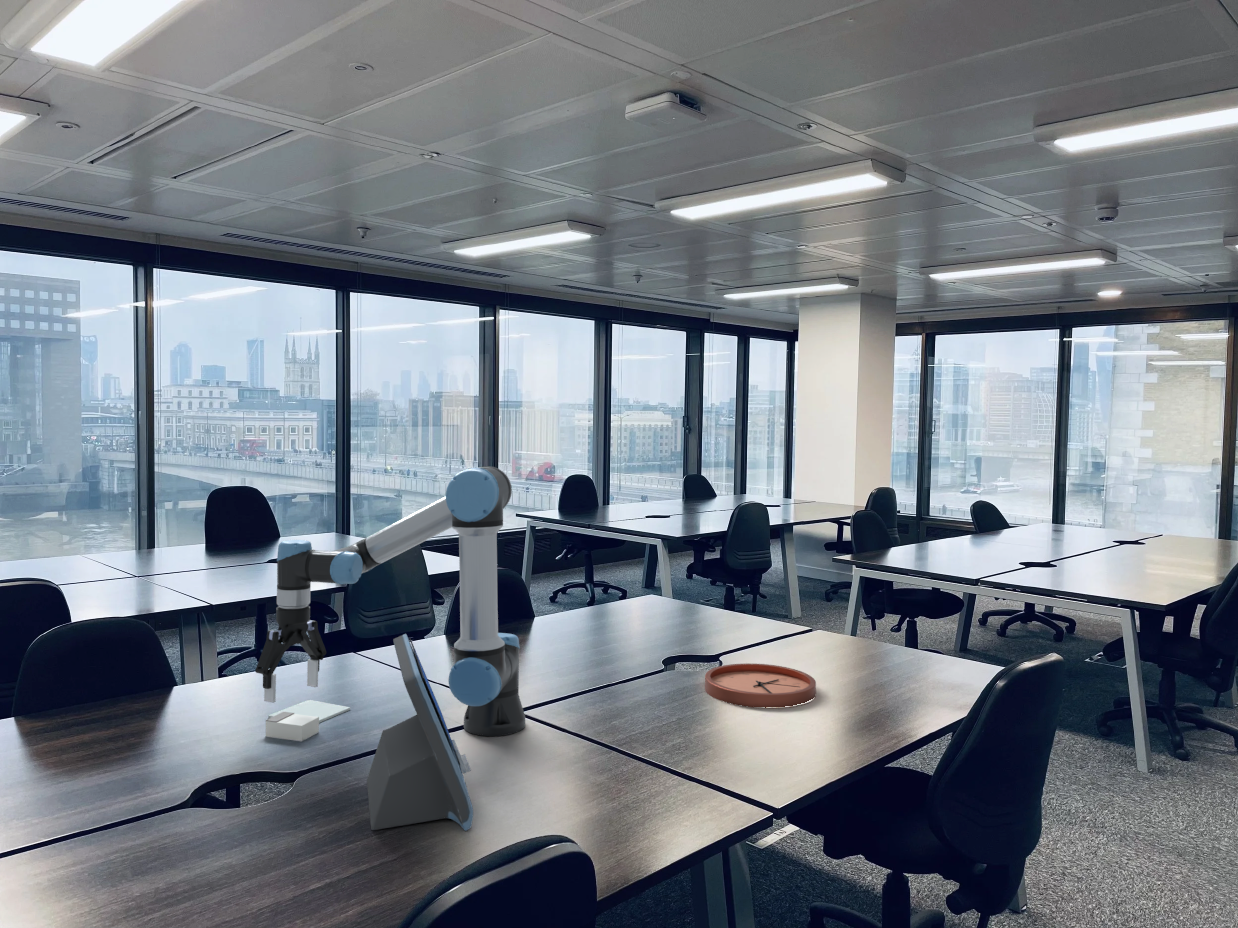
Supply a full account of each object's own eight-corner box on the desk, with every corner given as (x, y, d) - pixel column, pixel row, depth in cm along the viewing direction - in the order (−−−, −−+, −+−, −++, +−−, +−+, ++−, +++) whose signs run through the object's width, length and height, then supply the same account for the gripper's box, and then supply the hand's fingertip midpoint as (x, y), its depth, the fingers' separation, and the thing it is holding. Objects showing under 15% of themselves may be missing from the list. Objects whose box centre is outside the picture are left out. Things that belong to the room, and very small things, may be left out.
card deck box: (318, 733, 208) (318, 716, 208) (301, 742, 202) (301, 724, 201) (283, 728, 211) (283, 711, 210) (265, 737, 204) (265, 719, 204)
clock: (717, 659, 267) (821, 669, 257) (717, 671, 267) (820, 683, 257) (693, 686, 238) (809, 700, 227) (693, 701, 238) (808, 715, 228)
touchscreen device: (482, 830, 159) (478, 669, 157) (372, 847, 153) (367, 680, 151) (457, 759, 192) (454, 626, 190) (366, 772, 186) (361, 634, 184)
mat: (350, 709, 225) (350, 707, 225) (311, 725, 212) (311, 723, 212) (308, 701, 230) (308, 699, 230) (268, 717, 217) (268, 715, 217)
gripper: (318, 595, 218) (317, 678, 219) (239, 613, 195) (238, 705, 196) (342, 598, 215) (340, 682, 216) (264, 617, 192) (262, 710, 193)
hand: (291, 693), depth 206 cm, fingers open, 13 cm apart
